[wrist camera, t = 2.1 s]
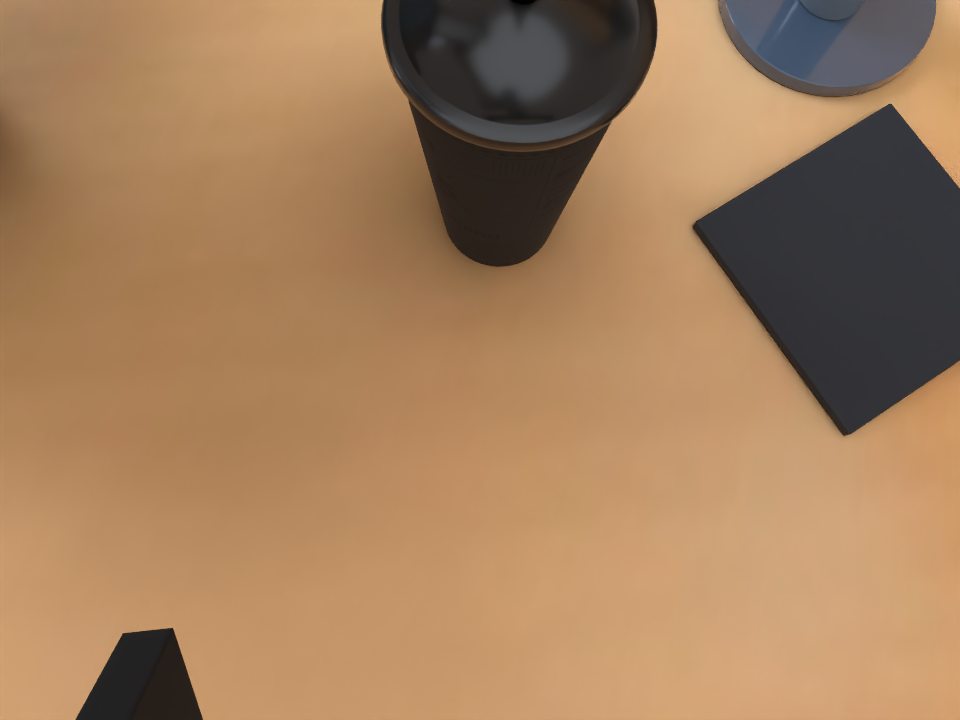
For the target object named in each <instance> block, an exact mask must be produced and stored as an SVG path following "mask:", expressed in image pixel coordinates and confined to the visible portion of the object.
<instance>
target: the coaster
mask: <svg viewBox="0 0 960 720" xmlns="http://www.w3.org/2000/svg"><path fill="white" fill-rule="evenodd" d="M693 228H694V230H695V231H696V233H697V234H698V235H699V237H700V238H701V239H702V241H703V242H704V244H705V245H706V246H707V248H708V249H709V251H710V252H711V253H712V255H713V256H714V257H715V259H716V260H717V262H718V263H719V264H720V266H721V267H722V268H723V270H724V271H725V273H726V274H727V275H728V277H729V278H730V279H731V281H732V282H733V284H734V285H735V286H736V288H737V289H738V290H739V292H740V293H741V295H742V296H743V297H744V299H745V300H746V301H747V303H748V304H749V306H750V307H751V308H752V310H753V311H754V312H755V314H756V315H757V317H758V318H759V319H760V321H761V322H762V324H763V325H764V326H765V328H766V329H767V330H768V332H769V333H770V335H771V336H772V337H773V339H774V340H775V341H776V343H777V344H778V346H779V347H780V348H781V350H782V351H783V352H784V354H785V355H786V357H787V358H788V359H789V361H790V362H791V363H792V365H793V366H794V368H795V369H796V370H797V372H798V373H799V374H800V376H801V377H802V379H803V380H804V381H805V383H806V384H807V386H808V387H809V388H810V390H811V391H812V392H813V394H814V395H815V397H816V398H817V399H818V401H819V402H820V403H821V405H822V406H823V408H824V409H825V410H826V412H827V413H828V414H829V416H830V417H831V419H832V420H833V421H834V423H835V424H836V425H837V427H838V428H839V430H840V431H841V432H842V434H843V435H848V434H851V433H853V432H854V431H856V430H857V429H859V428H860V427H862V426H863V425H865V424H866V423H868V422H869V421H871V420H872V419H874V418H875V417H877V416H878V415H880V414H881V413H883V412H884V411H885V410H887V409H888V408H890V407H891V406H893V405H894V404H896V403H897V402H899V401H900V400H902V399H903V398H905V397H906V396H908V395H909V394H911V393H912V392H914V391H915V390H917V389H918V388H920V387H921V386H923V385H924V384H925V383H927V382H928V381H930V380H931V379H933V378H934V377H936V376H937V375H939V374H940V373H942V372H943V371H945V370H946V369H948V368H949V367H951V366H952V365H954V364H955V363H957V362H958V361H960V188H959V187H958V186H957V185H956V183H955V182H954V181H953V180H952V178H951V177H950V176H949V175H948V173H947V172H946V171H945V170H944V169H943V167H942V166H941V165H940V164H939V162H938V161H937V160H936V159H935V157H934V156H933V155H932V154H931V152H930V151H929V150H928V149H927V147H926V146H925V145H924V144H923V143H922V141H921V140H920V139H919V138H918V136H917V135H916V134H915V133H914V131H913V130H912V129H911V128H910V126H909V125H908V124H907V123H906V122H905V120H904V119H903V118H902V117H901V115H900V114H899V113H898V112H897V110H896V109H895V108H894V107H893V105H892V104H888V105H887V106H885V107H884V108H882V109H880V110H879V111H877V112H875V113H874V114H872V115H870V116H869V117H867V118H865V119H864V120H862V121H861V122H859V123H857V124H856V125H854V126H852V127H851V128H849V129H847V130H846V131H844V132H842V133H841V134H839V135H838V136H836V137H834V138H833V139H831V140H829V141H828V142H826V143H824V144H823V145H821V146H819V147H818V148H816V149H815V150H813V151H811V152H810V153H808V154H806V155H805V156H803V157H801V158H800V159H798V160H796V161H795V162H793V163H792V164H790V165H788V166H787V167H785V168H783V169H782V170H780V171H778V172H777V173H775V174H773V175H772V176H770V177H769V178H767V179H765V180H764V181H762V182H760V183H759V184H757V185H755V186H754V187H752V188H750V189H749V190H747V191H746V192H744V193H742V194H741V195H739V196H737V197H736V198H734V199H732V200H731V201H729V202H727V203H726V204H724V205H722V206H721V207H719V208H718V209H716V210H714V211H713V212H711V213H709V214H708V215H706V216H704V217H703V218H701V219H699V220H698V221H696V223H695V224H694V225H693Z"/></svg>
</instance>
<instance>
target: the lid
mask: <svg viewBox="0 0 960 720" xmlns="http://www.w3.org/2000/svg"><path fill="white" fill-rule="evenodd" d="M719 7H720V12H721V17H722V20H723V23H724V25H725V28H726V30H727V32H728V34H729V36H730V38H731V40H732V42H733V43H734V44H735V46H736V47H737V49H738V50H739V52H740V53H741V54H742V55H743V56H744V57H745V58H746V60H747V61H748V62H750V63H751V64H752V65H753V66H754V67H755V68H756V69H757V70H759V71H760V72H762V73H763V74H764V75H766V76H767V77H769V78H770V79H772V80H774V81H776V82H778V83H780V84H781V85H784V86H786V87H789V88H791V89H794V90H797V91H800V92H804V93H808V94H813V95H820V96H849V95H854V94H859V93H864V92H867V91H870V90H872V89H875V88H878V87H880V86H882V85H884V84H886V83H887V82H889V81H891V80H892V79H893V78H895V77H896V76H898V75H899V74H900V73H901V72H902V71H903V70H904V69H905V68H906V67H907V66H908V65H909V64H910V63H911V62H912V61H913V60H914V59H915V58H916V57H917V55H918V54H919V53H920V51H921V50H922V49H923V47H924V45H925V44H926V42H927V40H928V38H929V36H930V33H931V30H932V28H933V24H934V19H935V13H936V0H719Z"/></svg>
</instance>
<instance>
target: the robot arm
mask: <svg viewBox="0 0 960 720" xmlns="http://www.w3.org/2000/svg"><path fill="white" fill-rule="evenodd" d="M76 720H203V718H202V715H201V712H200V709H199V706H198V703H197V700H196V697H195V694H194V691H193V688H192V685H191V682H190V679H189V675H188V672H187V669H186V666H185V663H184V660H183V657H182V654H181V651H180V648H179V645H178V642H177V639H176V636H175V633H174V630H173V628H168V629H159V630H150V631H140V632H131V633H123V634H122V636H121V638H120V640H119V642H118V643H117V645H116V647H115V649H114V651H113V652H112V654H111V656H110V658H109V660H108V662H107V663H106V665H105V667H104V669H103V671H102V672H101V674H100V676H99V678H98V680H97V682H96V683H95V685H94V687H93V689H92V691H91V692H90V694H89V696H88V698H87V700H86V702H85V703H84V705H83V707H82V709H81V711H80V712H79V714H78V716H77V718H76Z"/></svg>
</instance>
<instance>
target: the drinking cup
mask: <svg viewBox="0 0 960 720" xmlns="http://www.w3.org/2000/svg"><path fill="white" fill-rule="evenodd" d="M381 30H382V38H383V45H384V50H385V54H386V58H387V61H388V64H389V66H390V69H391V72H392V74H393V76H394V78H395V80H396V82H397V83H398V85H399V87H400V88H401V90H402V91H403V93H404V94H405V95H406V97H407V98H408V100H409V104H410V107H411V111H412V114H413V117H414V121H415V124H416V128H417V131H418V134H419V138H420V141H421V145H422V148H423V152H424V155H425V158H426V162H427V165H428V169H429V172H430V175H431V179H432V182H433V186H434V189H435V192H436V196H437V199H438V203H439V206H440V209H441V213H442V216H443V220H444V223H445V226H446V229H447V232H448V235H449V237H450V239H451V240H452V242H453V243H454V245H455V246H456V247H457V248H458V249H459V250H460V251H461V252H462V253H463V254H464V255H466V256H467V257H469V258H470V259H472V260H474V261H476V262H479V263H482V264H485V265H490V266H509V265H513V264H517V263H520V262H522V261H524V260H526V259H528V258H530V257H531V256H533V255H534V254H535V253H536V252H537V251H538V250H539V249H540V248H541V247H542V246H543V245H544V243H545V242H546V240H547V238H548V237H549V235H550V233H551V231H552V229H553V227H554V226H555V224H556V222H557V220H558V218H559V216H560V215H561V213H562V211H563V209H564V207H565V206H566V204H567V202H568V200H569V198H570V196H571V195H572V193H573V191H574V189H575V187H576V185H577V184H578V182H579V180H580V178H581V176H582V175H583V173H584V171H585V169H586V167H587V165H588V164H589V162H590V160H591V158H592V156H593V154H594V153H595V151H596V149H597V147H598V145H599V143H600V142H601V140H602V138H603V136H604V134H605V133H606V131H607V129H608V127H609V125H610V123H611V122H612V120H613V119H614V118H616V117H617V116H618V115H619V114H620V113H621V112H622V111H623V110H624V109H625V108H626V107H627V106H628V104H629V103H630V102H631V101H632V99H633V98H634V97H635V95H636V94H637V92H638V90H639V89H640V87H641V85H642V84H643V81H644V79H645V77H646V75H647V73H648V71H649V68H650V65H651V62H652V59H653V56H654V51H655V47H656V40H657V14H656V8H655V3H654V0H383V3H382V12H381Z"/></svg>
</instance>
